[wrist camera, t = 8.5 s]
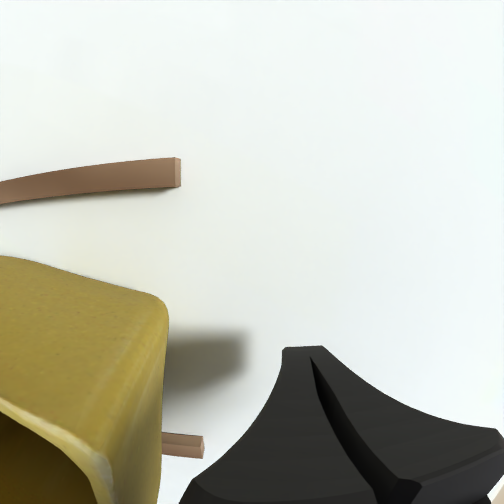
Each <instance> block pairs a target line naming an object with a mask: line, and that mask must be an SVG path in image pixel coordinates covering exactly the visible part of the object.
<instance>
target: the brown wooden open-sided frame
mask: <svg viewBox="0 0 504 504" xmlns="http://www.w3.org/2000/svg"><path fill="white" fill-rule="evenodd" d="M179 186H181V159H179V158H175V157H173V158H159V159H147V160H136V161H126V162H116V163H108V164H100V165H92V166H84V167H77V168H71V169H64V170H58V171H52V172H46V173H41V174H35V175H30V176H25V177H20V178H15V179H11V180H6V181H1V182H0V204H2V203H9V202H15V201H22V200H30V199H37V198H45V197H53V196H62V195H71V194H81V193H91V192H102V191H114V190H127V189H142V188H159V187H179ZM161 442H162V454H164V455H171V456H180V457H189V458H200V459H203V453H204V443H203V436H191V435H180V434H171V433H163V432H161Z"/></svg>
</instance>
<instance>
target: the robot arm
mask: <svg viewBox="0 0 504 504" xmlns="http://www.w3.org/2000/svg"><path fill="white" fill-rule="evenodd" d="M503 475H504V438H503V437H502V435H501V434H500V433H499V432H498V430H497V429H494V428H486V427H479V426H472V425H466V424H461V423H457V422H453V421H449V420H445V419H441V418H438V417H435V416H432V415H429V414H426V413H424V412H421V411H419V410H416V409H414V408H411V407H409V406H407V405H405V404H403V403H401V402H399V401H397V400H395V399H393V398H391V397H389V396H388V395H386V394H384V393H382V392H381V391H379V390H378V389H376V388H375V387H373V386H372V385H370V384H369V383H367V382H366V381H364V380H363V379H362V378H360V377H359V376H358V375H356V374H355V373H354V372H352V371H351V370H350V369H349V368H347V367H346V366H345V365H344V364H343V363H342V362H340V361H339V360H338V359H337V358H336V357H335V356H334V355H332V354H331V353H330V352H329V351H328V350H327V349H326V348H325V347H323V346H303V347H285V348H284V349H283V350H282V365H281V369H280V372H279V375H278V378H277V381H276V383H275V386H274V388H273V390H272V392H271V394H270V396H269V398H268V400H267V402H266V404H265V405H264V407H263V409H262V410H261V412H260V413H259V415H258V416H257V418H256V419H255V421H254V422H253V423H252V425H251V426H250V427H249V428H248V430H247V431H246V432H245V433H244V435H243V436H242V437H241V438H240V439H239V440H238V441H237V442H236V443H235V444H234V445H233V446H232V447H231V448H230V449H229V450H228V451H227V452H226V453H225V454H224V455H223V456H222V457H221V458H220V459H218V460H217V461H216V462H215V463H213V464H212V465H211V466H210V467H208V468H207V469H206V470H204V471H203V472H202V473H200V474H199V475H198V476H196V477H195V478H193V479H192V480H191V482H190V484H189V485H188V487H187V489H186V491H185V492H184V494H183V496H182V498H181V500H180V502H179V504H491V501H490V499H489V498H488V496H487V494H488V493H489V492H490V491H491V489H492V488H493V487H494V486H495V485H496V483H497V482H498V481H499V480H500V478H501V477H502V476H503Z"/></svg>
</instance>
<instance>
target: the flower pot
mask: <svg viewBox="0 0 504 504" xmlns="http://www.w3.org/2000/svg"><path fill="white" fill-rule="evenodd" d="M168 329H169V315H168V311H167V308H166V305H165V304H164V302H163V301H161V300H160V299H159V298H158V297H156V296H154V295H151V294H148V293H145V292H140V291H136V290H132V289H128V288H124V287H120V286H116V285H113V284H109V283H105V282H102V281H98V280H94V279H90V278H87V277H83V276H80V275H77V274H73V273H70V272H67V271H63V270H60V269H57V268H54V267H51V266H48V265H44V264H41V263H37V262H34V261H30V260H26V259H20V258H15V257H8V256H0V504H157V498H158V492H159V486H160V478H161V459H162V442H161V425H162V395H163V379H164V366H165V356H166V347H167V338H168Z"/></svg>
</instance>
